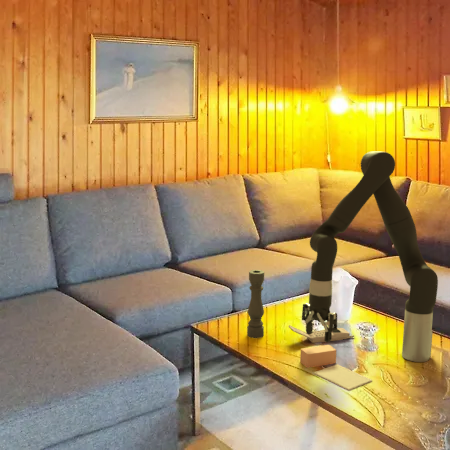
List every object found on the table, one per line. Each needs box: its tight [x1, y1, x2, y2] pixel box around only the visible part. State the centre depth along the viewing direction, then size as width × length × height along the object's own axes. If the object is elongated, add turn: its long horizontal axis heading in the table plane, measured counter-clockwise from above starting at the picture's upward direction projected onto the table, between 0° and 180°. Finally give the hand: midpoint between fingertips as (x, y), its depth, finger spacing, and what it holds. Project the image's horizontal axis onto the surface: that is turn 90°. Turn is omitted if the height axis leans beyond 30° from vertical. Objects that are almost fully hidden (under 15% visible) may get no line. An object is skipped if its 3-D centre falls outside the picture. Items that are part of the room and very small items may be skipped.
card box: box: [299, 344, 337, 369], centre depth 214 cm, size 11×5×5 cm, turn 110°
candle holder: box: [246, 269, 265, 339], centre depth 236 cm, size 6×6×25 cm
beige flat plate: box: [313, 363, 373, 391], centre depth 203 cm, size 11×15×1 cm
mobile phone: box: [288, 325, 355, 344], centre depth 235 cm, size 6×6×25 cm
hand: (318, 337), depth 213 cm, fingers open, 8 cm apart
